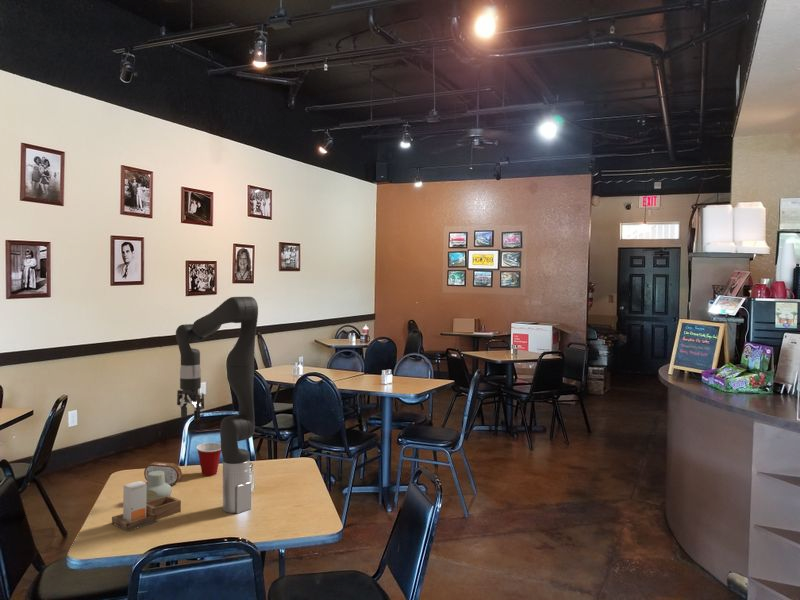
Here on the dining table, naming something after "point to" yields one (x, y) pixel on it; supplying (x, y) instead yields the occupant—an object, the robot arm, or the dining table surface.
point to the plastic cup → (209, 458)
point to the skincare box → (134, 501)
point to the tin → (165, 471)
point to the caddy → (152, 512)
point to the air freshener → (157, 486)
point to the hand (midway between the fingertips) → (190, 418)
